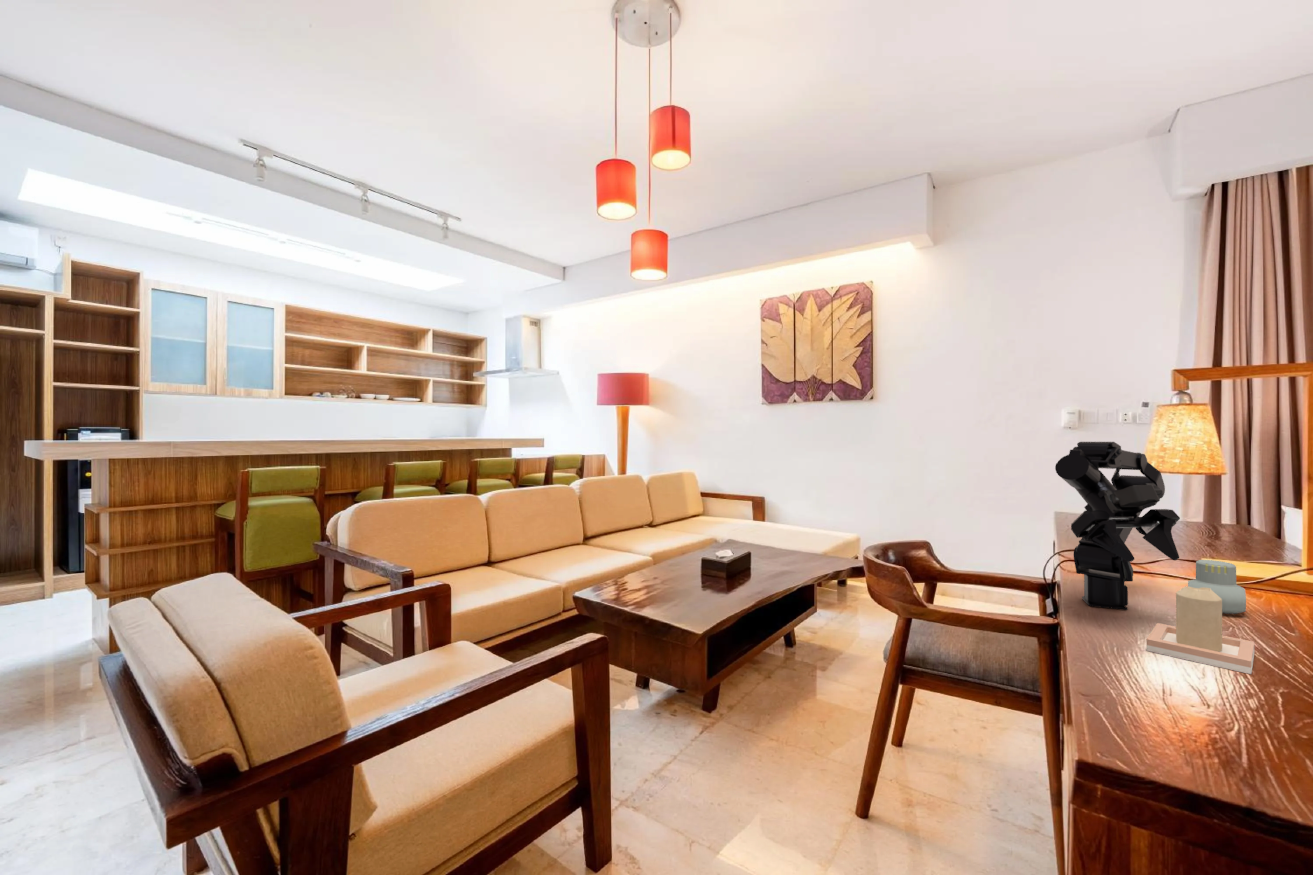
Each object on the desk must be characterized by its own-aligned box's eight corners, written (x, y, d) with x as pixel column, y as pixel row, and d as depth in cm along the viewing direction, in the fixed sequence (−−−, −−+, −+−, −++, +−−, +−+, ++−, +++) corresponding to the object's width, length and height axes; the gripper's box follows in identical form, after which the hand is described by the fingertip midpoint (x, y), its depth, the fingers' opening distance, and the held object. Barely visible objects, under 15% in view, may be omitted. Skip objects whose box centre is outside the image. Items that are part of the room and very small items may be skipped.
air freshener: (1188, 600, 119) (1188, 555, 119) (1243, 608, 113) (1243, 561, 113) (1187, 611, 111) (1187, 563, 111) (1246, 621, 105) (1246, 570, 105)
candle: (1208, 641, 92) (1208, 584, 92) (1230, 653, 87) (1230, 593, 87) (1169, 637, 94) (1168, 581, 94) (1188, 649, 89) (1187, 590, 89)
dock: (1251, 674, 82) (1251, 661, 82) (1146, 650, 91) (1146, 638, 91) (1254, 653, 90) (1254, 641, 90) (1157, 633, 99) (1157, 622, 99)
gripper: (1083, 469, 104) (1139, 536, 93) (1169, 468, 106) (1234, 534, 95) (1050, 504, 112) (1098, 569, 101) (1131, 503, 114) (1187, 567, 103)
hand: (1154, 559), depth 100 cm, fingers open, 9 cm apart
